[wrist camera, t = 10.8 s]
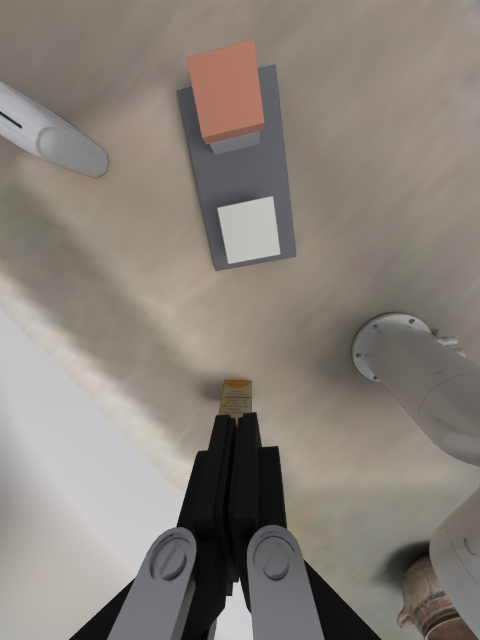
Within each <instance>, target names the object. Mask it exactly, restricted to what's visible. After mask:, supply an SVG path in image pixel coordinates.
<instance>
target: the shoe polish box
mask: <svg viewBox="0 0 480 640" xmlns="http://www.w3.org/2000/svg"><path fill="white" fill-rule="evenodd" d="M243 413H252V381H225V382H224V388H223V393H222V398H221V404H220V409H219V414H218V415H226V414H230V416H231V418H235V420H236V425H237V424H238V417H243Z"/></svg>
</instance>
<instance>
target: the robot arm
mask: <svg viewBox="0 0 480 640" xmlns="http://www.w3.org/2000/svg"><path fill="white" fill-rule="evenodd" d="M373 325H374V326H373ZM454 345H457V339H456V338H455V337H453V336H452V337H445V338H441V339H439V338H438V337H436V336H434V335H432V333H431V331H430V329H429V328H428V326H427V325H426V324H425V323H424V322H423V321H422V320H420V319H418V318H416V317H414V316H412V315H410V314H405V313H389V314H385V315H382V316H379V317H377V318H375V319H373V320H371V321H370V322H369V323H367V324H366V325H365V326H364V327H363V328H362V329H361V330H360V331H359V333H358V334H357V335H356V337H355V340H354V342H353V346H352V359H353V362H354V364H355V366H356V368H357V369H358V370H359V372H360V373H361V374H362V375H363V376H365V377H366V378H368V379H370V380H372V381H375V382H380V383H382V384H383V385H384V386H385V387H386V389H387V390H388V391H389V392H390V393H391V394H392V396H393V397H394V398H395V399H396V400H397V401H398V402H399V404H400V405H401V406H402V407H403V408H404V409H405V411H406V412H407V413H408V414H409V415H410V416H411V418H412V419H413V420H414V421H415V422H416V423H417V424H418V426H419V427H420V428H421V429H422V430H423V431H424V433H425V434H426V435H427V436H428V437H429V439H430V440H431V441H432V442H433V443H434V444H435V445H436V446H437V447H439V448H440V449H441V450H442V451H444V452H445V453H447V454H448V455H450V456H452V457H454V458H456V459H458V460H461V461H463V462H466V463H469V464H472V465H475V466H479V467H480V366H478V365H477V364H475V363H473V362H471V361H470V360H468V359H466V358H465V357H466V355H465V352H464V351H463V350H462V349H461V348H456V349H449V348H448V347H446V346H454ZM429 552H430V559H431V563H432V566H433V569H434V572H435V574H436V577H437V579H438V581H439V583H440V585H441V587H442V588H443V590H444V592H445V594H446V595H447V597H448V598H449V600H450V602H451V603H452V605H453V606H454V608H455V609H456V610H457V612H458V613H459V615H460V616H461V617H462V619H463V620H464V621H465V623H466V624H467V625H468V627H469V628H470V629H471V630H472V632H473V633H474V634H475V635H476V637H477V638H478V639H479V640H480V487H479V489H478V490H477V491H475V492H474V493H473V494H472V495H471V496H470V497H469V498H468V499H467V500H465V501H464V502H463V503H462V504H461V505H460V506H459V507H458V508H457V509H456V510H454V511H453V512H452V513H451V514H450V515H449V516H448V517H447V518H446V519H445V520H444V521H443V522H442V523H441V524H440V525H439V526H438V527H437V529H436V530H435V531H434V533H433V535H432V537H431V540H430V546H429ZM239 577H240V581H241V585H242V590H243V593H244V597H245V602H246V606H247V609H248V610H249V612H250V613H251V615H252V627H253V638H254V640H381V639H380V638H379V637H378V636H377V634H376V633H375V632H374V631H373V630H372V629H371V628H370V627H369V626H368V625H367V624H366V623H365V622H364V621H363V620H362V619H361V618H360V617H359V616H358V615H357V614H356V613H355V612H354V611H353V610H352V609H351V608H350V607H349V605H348V604H347V603H346V602H345V601H344V600H343V599H342V598H341V597H340V596H339V595H338V594H337V593H336V592H335V591H334V590H333V589H332V588H331V587H330V586H329V585H328V584H327V583H326V582H325V581H324V580H323V579H322V578H321V576H320V575H319V574H318V573H317V572H316V571H315V570H314V569H313V568H312V567H311V566H310V565H309V564H308V563H307V562H306V561H305V560H304V559H303V556H302V553H301V549H300V547H299V544H298V542H297V540H296V538H295V537H294V536H293V535H292V533H291V532H289V531H288V530H287V522H286V512H285V502H284V492H283V482H282V473H281V464H280V456H279V449H278V446H273V447H262V445H261V438H260V432H259V425H258V419H257V413H256V412H252V413H243V417H238V424H237V425H236V420H235V418H231V416H230V414H226V415H216V418H215V422H214V426H213V430H212V435H211V439H210V443H209V448H208V450H207V451H198V453H197V455H196V458H195V462H194V466H193V469H192V473H191V476H190V480H189V483H188V487H187V491H186V494H185V498H184V501H183V505H182V508H181V512H180V516H179V519H178V523H177V526H176V527H175V528H172V529H169V530H167V531H165V532H164V533H163V534H161V535H160V536H159V537H158V538H157V539H156V540H155V541H154V542H153V544H152V546H151V547H150V549H149V551H148V552H147V555H146V557H145V559H144V561H143V563H142V565H141V568H140V570H139V572H138V574H137V576H136V578H135V579H133V580H132V581H131V582H130V583H129V584H128V585H127V586H126V587H125V588H124V589H123V590H122V591H121V592H119V593H118V594H117V595H116V596H115V597H114V598H113V599H112V600H111V601H110V602H109V603H108V604H107V605H106V606H105V607H103V608H102V609H101V610H100V611H99V612H98V613H97V614H96V615H95V616H94V617H93V618H92V619H91V620H90V621H88V622H87V623H86V624H85V625H84V626H83V627H82V628H81V629H80V630H79V631H78V632H77V633H76V634H75V635H73V636H72V637H71V638H70V639H69V640H214V635H215V631H216V624H217V617H218V616H219V614H220V613H221V612H222V610H223V609H224V608H225V601H226V596H232V590H233V582H238V581H239Z"/></svg>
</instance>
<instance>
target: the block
mask: <svg viewBox="0 0 480 640" xmlns="http://www.w3.org/2000/svg"><path fill="white" fill-rule="evenodd" d="M258 76H259V84H260V92H261V100H262V108H263V116H264V130H263V131H259V132H255V133H251V134H247V135H243V136H239V137H234V138H230V139H226V140H222V141H218V142H214V143H210V144H205V142H204V140H203V138H202V133H201V128H200V123H199V118H198V113H197V108H196V103H195V98H194V93H193V88H192V87H189V88H185V89H182V90H178V91H177V95H178V99H179V104H180V108H181V113H182V118H183V122H184V127H185V131H186V136H187V141H188V145H189V150H190V155H191V159H192V164H193V168H194V173H195V178H196V182H197V187H198V191H199V196H200V201H201V205H202V210H203V215H204V219H205V224H206V228H207V233H208V238H209V242H210V247H211V252H212V256H213V261H214V265H215V270H216V271H219V270H225V269H230V268H236V267H241V266H247V265H252V264H257V263H263V262H268V261H274V260H279V259H285V258H290V257H296V248H295V239H294V230H293V221H292V212H291V202H290V193H289V184H288V175H287V166H286V157H285V147H284V138H283V129H282V120H281V111H280V101H279V92H278V83H277V74H276V65H271V66H267V67H263V68H260V69H258ZM271 196H273V200H274V208H275V216H276V223H277V231H278V239H279V247H280V254H279V255H274V256H269V257H263V258H258V259H253V260H247V261H242V262H236V263H231V264H228V259H227V254H226V249H225V244H224V239H223V234H222V229H221V224H220V219H219V214H218V209H217V208H219V207H224V206H229V205H234V204H238V203H243V202H248V201H252V200H257V199H262V198H267V197H271Z"/></svg>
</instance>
